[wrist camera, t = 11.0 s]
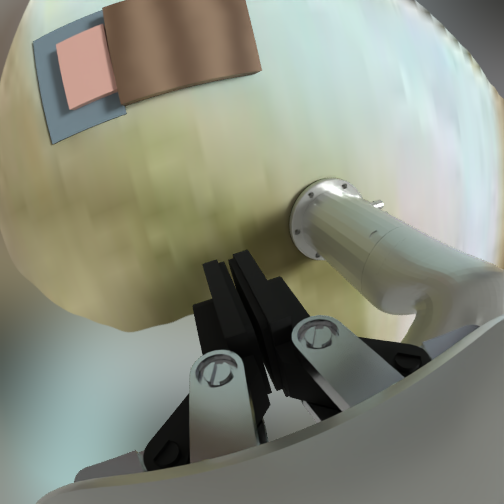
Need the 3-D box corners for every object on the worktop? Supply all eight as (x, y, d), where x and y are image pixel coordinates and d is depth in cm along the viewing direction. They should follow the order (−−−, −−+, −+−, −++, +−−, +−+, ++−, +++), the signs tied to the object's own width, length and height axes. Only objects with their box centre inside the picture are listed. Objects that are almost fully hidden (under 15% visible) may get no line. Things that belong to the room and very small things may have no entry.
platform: (234, -12, 25) (239, -21, 22) (254, 74, 31) (261, 70, 28) (106, 15, 22) (102, 7, 20) (124, 106, 29) (120, 104, 26)
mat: (105, 10, 22) (105, 8, 22) (126, 113, 29) (126, 113, 29) (34, 42, 20) (33, 41, 20) (53, 144, 28) (52, 144, 27)
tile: (106, 28, 23) (103, 23, 21) (120, 90, 27) (117, 88, 26) (61, 48, 22) (55, 44, 20) (74, 110, 26) (69, 109, 25)
